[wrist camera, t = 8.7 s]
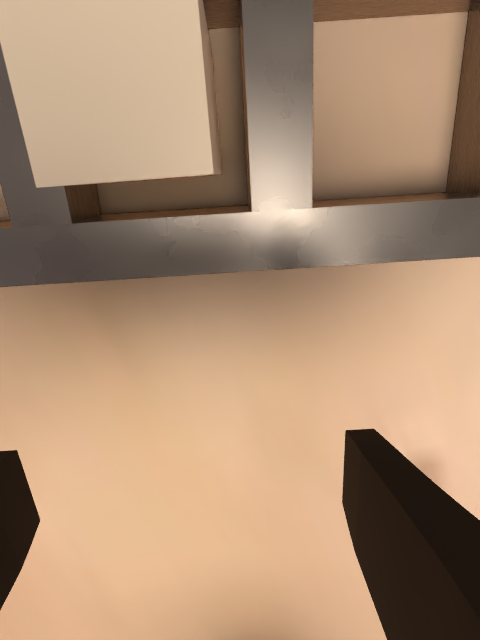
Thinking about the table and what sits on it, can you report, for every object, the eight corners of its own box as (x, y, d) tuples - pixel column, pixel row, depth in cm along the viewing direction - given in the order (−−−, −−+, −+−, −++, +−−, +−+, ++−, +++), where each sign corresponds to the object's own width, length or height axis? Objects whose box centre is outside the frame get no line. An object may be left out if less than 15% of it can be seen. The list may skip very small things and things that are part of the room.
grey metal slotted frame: (-123, 278, 16) (-197, 299, 13) (-243, -14, 13) (-379, -67, 10) (487, 239, 16) (540, 252, 13) (539, -68, 13) (627, -138, 10)
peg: (121, 182, 15) (36, 187, 9) (101, 64, 14) (-21, -38, 7) (222, 174, 15) (213, 173, 9) (212, 55, 14) (192, -56, 7)
